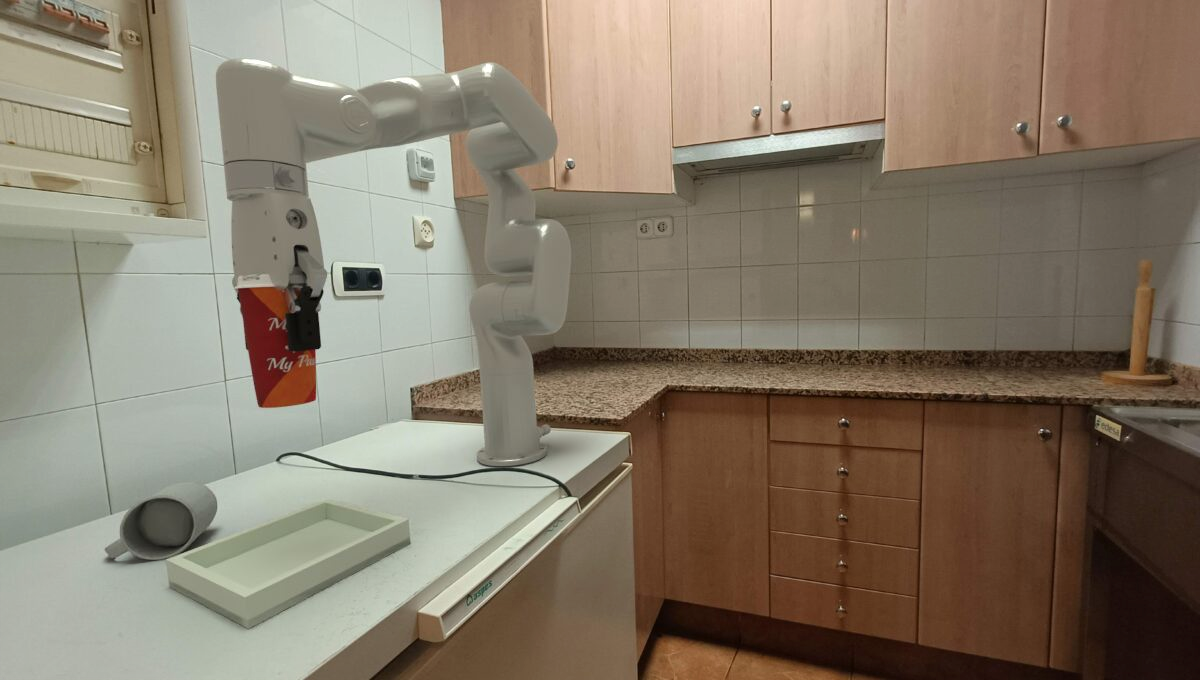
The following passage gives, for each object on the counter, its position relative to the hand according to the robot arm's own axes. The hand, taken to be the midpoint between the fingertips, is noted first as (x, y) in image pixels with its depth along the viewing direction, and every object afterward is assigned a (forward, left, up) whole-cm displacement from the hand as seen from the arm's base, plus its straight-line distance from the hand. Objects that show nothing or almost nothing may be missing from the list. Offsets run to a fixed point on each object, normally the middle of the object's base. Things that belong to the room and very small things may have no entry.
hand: (283, 349), depth 58 cm
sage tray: (+1, 0, -24) cm, 24 cm away
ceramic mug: (+6, -20, -25) cm, 32 cm away
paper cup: (0, 0, -6) cm, 6 cm away
